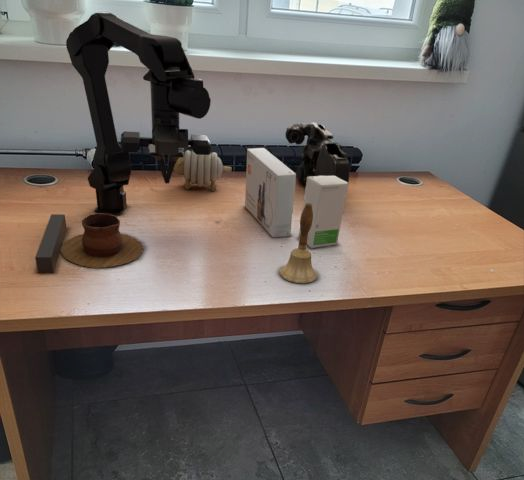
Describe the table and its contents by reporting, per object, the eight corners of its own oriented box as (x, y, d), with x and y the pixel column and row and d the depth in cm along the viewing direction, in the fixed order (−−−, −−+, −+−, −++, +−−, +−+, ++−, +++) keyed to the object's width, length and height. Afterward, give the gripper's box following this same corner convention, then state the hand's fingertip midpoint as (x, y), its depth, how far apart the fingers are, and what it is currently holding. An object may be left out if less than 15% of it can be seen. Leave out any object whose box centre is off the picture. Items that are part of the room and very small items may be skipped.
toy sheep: (173, 180, 155) (172, 142, 148) (228, 182, 158) (230, 145, 151) (173, 192, 147) (173, 153, 140) (232, 194, 150) (234, 155, 143)
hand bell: (277, 265, 116) (285, 196, 107) (313, 266, 117) (324, 198, 108) (281, 283, 110) (290, 211, 100) (319, 284, 111) (332, 213, 101)
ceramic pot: (159, 253, 116) (158, 224, 111) (88, 276, 105) (84, 244, 100) (114, 226, 125) (112, 198, 121) (45, 245, 114) (40, 214, 110)
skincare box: (242, 206, 143) (246, 147, 134) (260, 205, 145) (265, 147, 135) (271, 238, 128) (277, 174, 118) (291, 236, 130) (299, 173, 120)
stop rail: (38, 272, 104) (35, 257, 102) (53, 228, 121) (51, 214, 119) (53, 272, 105) (50, 257, 103) (66, 228, 122) (64, 214, 120)
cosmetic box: (310, 249, 125) (320, 185, 115) (296, 238, 129) (305, 176, 120) (338, 244, 128) (350, 182, 119) (324, 234, 133) (334, 173, 123)
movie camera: (274, 171, 168) (283, 115, 157) (325, 175, 172) (337, 120, 162) (299, 211, 145) (311, 148, 134) (357, 214, 149) (374, 154, 138)
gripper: (117, 114, 98) (122, 194, 107) (214, 119, 102) (211, 196, 111) (119, 102, 107) (124, 177, 116) (208, 107, 110) (207, 179, 120)
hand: (167, 182), depth 115 cm, fingers closed
